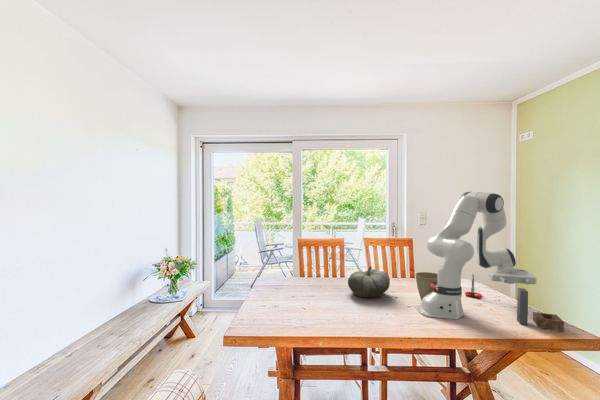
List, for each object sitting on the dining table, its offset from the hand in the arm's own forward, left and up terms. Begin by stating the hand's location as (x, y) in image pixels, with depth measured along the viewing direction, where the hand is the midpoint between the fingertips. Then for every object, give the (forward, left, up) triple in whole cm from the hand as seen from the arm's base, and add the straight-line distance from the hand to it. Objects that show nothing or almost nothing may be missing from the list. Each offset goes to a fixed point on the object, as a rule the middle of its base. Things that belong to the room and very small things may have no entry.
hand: (516, 282), depth 157 cm
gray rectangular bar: (-4, -11, -16) cm, 21 cm away
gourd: (-71, +26, -17) cm, 77 cm away
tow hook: (-7, +28, -17) cm, 34 cm away
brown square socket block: (+5, -15, -16) cm, 23 cm away
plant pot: (-39, +13, -17) cm, 44 cm away
